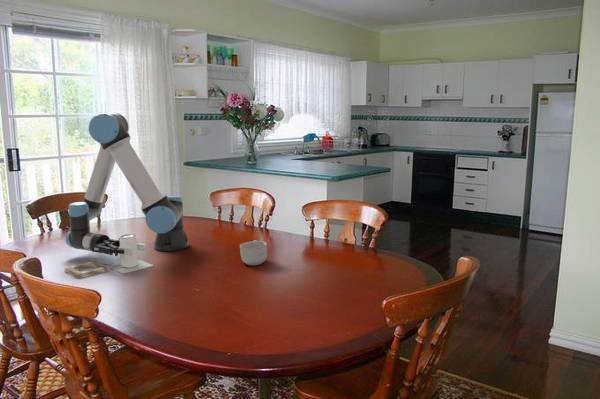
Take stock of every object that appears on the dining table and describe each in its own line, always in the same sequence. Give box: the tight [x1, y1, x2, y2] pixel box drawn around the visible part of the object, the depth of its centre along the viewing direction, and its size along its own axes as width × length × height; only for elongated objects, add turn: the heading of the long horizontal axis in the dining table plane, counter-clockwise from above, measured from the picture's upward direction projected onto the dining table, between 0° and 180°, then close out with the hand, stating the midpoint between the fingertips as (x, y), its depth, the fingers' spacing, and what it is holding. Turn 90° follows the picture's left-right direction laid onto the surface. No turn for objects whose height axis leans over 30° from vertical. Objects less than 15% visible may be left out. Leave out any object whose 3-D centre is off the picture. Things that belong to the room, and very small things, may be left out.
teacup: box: [239, 239, 268, 266], centre depth 200 cm, size 14×11×8 cm
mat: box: [107, 258, 154, 275], centre depth 196 cm, size 13×13×1 cm
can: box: [119, 233, 139, 268], centre depth 195 cm, size 6×6×12 cm
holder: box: [64, 260, 110, 279], centre depth 191 cm, size 12×12×2 cm
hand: (138, 250), depth 192 cm, fingers closed on can, 6 cm apart
